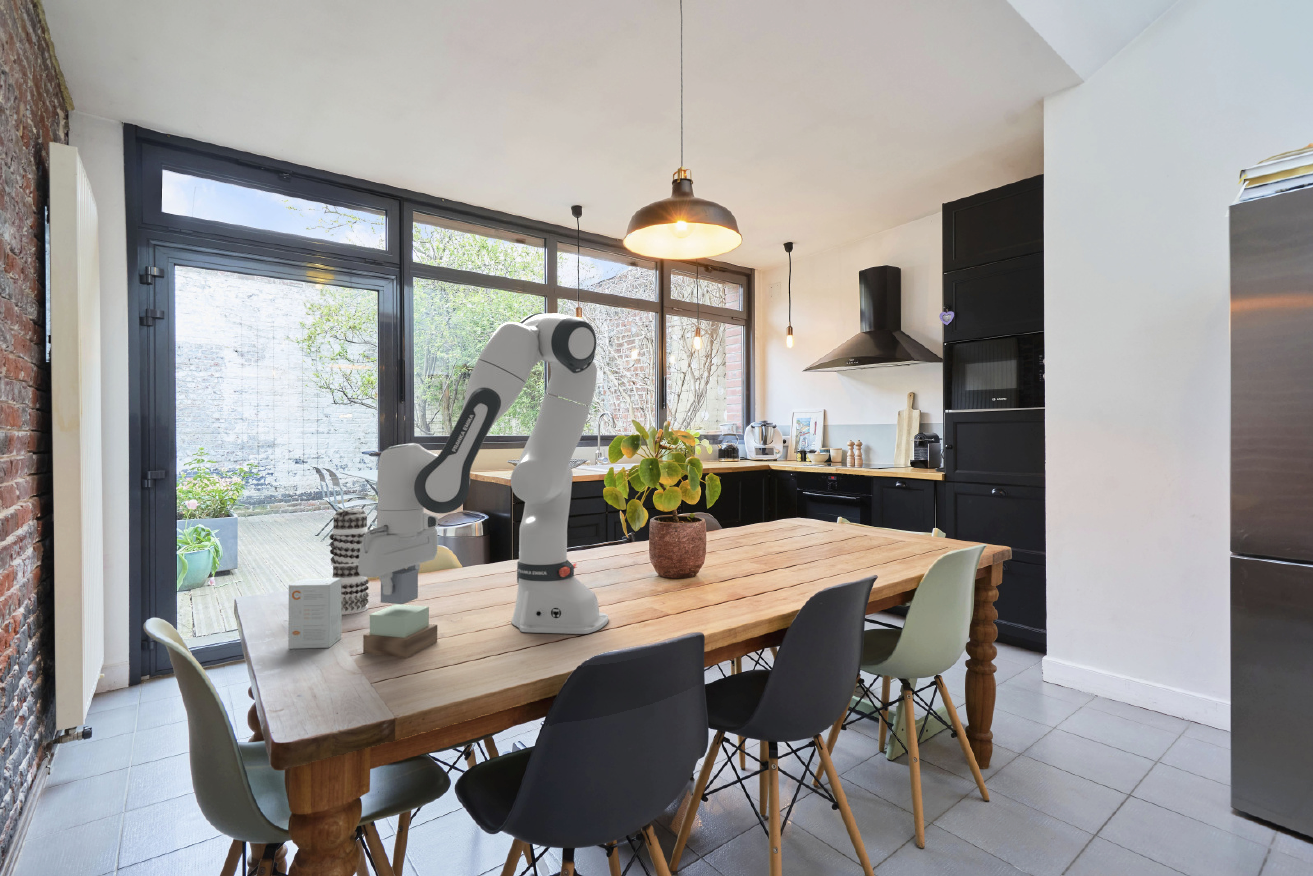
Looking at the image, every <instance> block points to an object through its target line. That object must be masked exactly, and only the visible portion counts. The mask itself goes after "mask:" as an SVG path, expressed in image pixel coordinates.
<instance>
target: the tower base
mask: <svg viewBox="0 0 1313 876" xmlns="http://www.w3.org/2000/svg"><path fill="white" fill-rule="evenodd" d="M362 637H363V639H362V640H363V641H362V644H363V645H362V647H363V648H362V650H363V651H362V653H363V654H367V655H368V654H369V655H378V656H385V657H386V656H387V657H394V658H405V659H407V658H409V657H411V656H413V655H416V654H417V653H419V652H420V651H424V649H426V648H429V647H430V646H433V645H434V644H436V643H438V624H435V623H429V626H427V627H425V628H423V629H421V630H419V631H417V632H415V633H413V634H411V635H409V636H407V637H405V638H401V637H391V636H380V635H370V631H369V632H367V633H364V634H363V636H362Z"/></svg>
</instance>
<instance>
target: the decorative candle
mask: <svg viewBox="0 0 1313 876" xmlns="http://www.w3.org/2000/svg"><path fill="white" fill-rule="evenodd" d="M364 510H365V509H363V508H360V507H357V508H353V507H352V508H351V507H350V508H341V509H338V510H337V511H336V512H335V514H334V515H332V516H331V517H332V518H333V528H332V532H331V534H330V535H329V536H328V537H329V540H330V541H331V542H330V544H329V547H330V548H331V549H329V552H330V554H331V555H332V556H331V558H330V565H331V566H332V576H331V578H341V613H342V615H343V616H344V615H352V614H353V615H354V614H357V613H362V612H365V611H367V610H368V609H369V605H368V604H369V601H370V600H369V599H368V598H369V596H370V594H369V592H367V591H368V590H369V586H368V584H369V582H370V581H369V579H368V577H362V576H361V575H360V574H359V572H358V564H359V554H360V548H361V544H362V541H363V536H364V535H365V534H366V533H367V532H368V530H369V529H368V516H369V514H367V513H366V512H365V511H364Z"/></svg>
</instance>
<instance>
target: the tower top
mask: <svg viewBox="0 0 1313 876" xmlns="http://www.w3.org/2000/svg"><path fill="white" fill-rule="evenodd" d="M429 624H430V607H429V606H424V605H411V604H392V605H389V606H387V607H385V608H382V609H380V610H378V611H375V612H372V613H370V614H369V632H370V635H380V636H391V637H401V638H405V637H407V636H409V635H411V634H413V633H415V632H417V631H419V630H421V629H423V628H425V627H427V626H429Z"/></svg>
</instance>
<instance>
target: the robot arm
mask: <svg viewBox="0 0 1313 876" xmlns="http://www.w3.org/2000/svg"><path fill="white" fill-rule="evenodd" d="M596 350H597V335H596V331H595V329H594V328H593V326H592V325H591V324H590V323H589V322H587V321H586V320H584V319H582V318H580V317H577V316H571V315H568V314H567V315H566V314H562V313H555V312H554V313H545V312H536V313H531V314H529V315H527V316H525V317H523V318H522V319H521V320H520V321H519V322H516V321H508V322H504V323H503V324H500V326H499V327H498V328H497V329H496V331H494V333H493V334H492V335H491V337H490V338H489V339H488V341H487V343H486V344H485V346H484V347H483V349H482V351H481V353H480V355H479V356H478V358H477V360H476V362H475V364H474V365H473V368H472V370H471V373H470V376H469V379H468V382H467V386H466V390H465V395H464V399H463V406H462V409H461V412H460V415H459V418H458V419H457V421H456V423H455V425H454V427H453V429H452V430H451V433H450V435H449V436H448V438H447V440H446V442H445V444H444V446H443V448H442V449H441V451H440V452H439V454H436V453H434V452H432V451H430V450H428V449H426V448H425V447H423V446H422V445H421V444H419V443H416V442H410V443H405V444H404V443H402V444H397V445H393V446H389V447H387V448H385V449H384V450H383V451H382V452H381V454H380V455H379V459H378V460H379V461H378V467H377V477H376V478H377V481H376V483H377V486H376V488H377V491H378V497H379V498H378V503H377V507H376V527H371V528H369V529H368V530H367V533H366V534H365V535H364V536H363V541H362V544H361V548H360V554H359V564H358V572H359V574H360V575H361V576H362V577H367V578H377V577H378V579H379V582H380V584H381V583H382V585H383V594H384V595H390V594H393V593H395V585H394V584H392V581H391V579H390V578H391V577H392V572H394V571H397V570H401V569H404V568H407V569H418V573H419V571H420V569H421V564H423V563H426V562H430V561H433V560H435V559H436V556H437V555H438V547H439V546H438V544H439V543H438V541H439V540H438V538H439V537H438V535H439V534H438V531H437V527H438V526H439V517H437V516H436V515H432V514H429V513H426V512H425V511H424V510H427V511H429V512H431V513H435V514H448V513H449V514H450V513H451V512H454V511H456V510H458V509H460V507H462V505H463V504H465V502H466V500H467V499H468V496H469V492H470V486H471V469H472V466H473V464H474V462H475V460H476V458H477V455H478V453H479V452H480V449H481V447H482V446H483V444H484V442H485V439H486V437H487V436H488V434H489V432H490V430H491V428H492V427H493V426H494V425H495V423H496V422H497V421H498V420H499V419H500V418H502V416H503V415H505V413H507V412H508V411H509V410H510V408H512V406H513V405H514V403H515V402H516V400H517V399H518V398H519V396H520V394H521V393H522V390H523V389H524V387H525V385H526V384H527V382H528V379H529V376H530V374H531V372H532V370H533V368H534V367H535V366H536V365H537V364H538V363H539V362H541V361H543V362H544V363H549V367H550V377H549V381H548V383H547V386H546V389H545V392H544V395H543V398H542V402H541V405H540V409H539V410H538V414H537V418H536V422H535V425H534V426H533V429H532V431H531V433H530V435H529V438H527V441H526V443H525V446H524V448H523V450H522V452H521V455H520V456H519V460H518V462H517V464H516V466H515V467H514V469H513V471H512V472H511V474H510V487H511V490H512V492H513V493H514V495H515V496H516V498H518V499H520V500H521V501H523V502H524V507H523V514H522V519H521V522H520V524H519V539H518V541H519V545H518V547H519V548H518V550H519V551H518V559H519V560H518V561H517V562H516V563H517V564H516V565H517V566H516V568H517V569H516V582H517V595H516V602H515V607H514V612H513V615H512V618H511V620H510V621H511V624H512V625H514V626H515V627H517V628H518V629H519V631H520V632H522V633H536V634H537V633H539V634H540V633H541V634H569V635H570V634H573V635H574V634H575V635H586V634H591V633H593V632H594V633H595V632H597V631H598V630H600V629H602V628H604V626H606V625H607V623H608V622H609V615H608V613H605V612H600V607H599V601H598V597H597V595H596V593H595V592H594V591H592V590H591V589H590V588H589V587H588V586H586V585H585V584H584V583H582V581H580V580H579V579H578V578H577V577H575V576H574V575H575V569H576V568H577V562H576V563H573V564H572V562H570V561H569V560H568V559H567V558H568V555H567V554H568V521H569V515H570V508H571V507H570V505H571V500H572V499H571V497H572V488H573V487H572V486H573V485H572V483H573V477H574V475H573V474H574V473H573V469H572V467H571V465H570V462H571V460H572V457H573V455H574V452H575V450H576V448H577V446H578V444H579V443H580V440H581V439H582V435H583V432H584V429H585V425H586V423H587V419H588V415H589V412H590V410H591V405H592V402H593V398H594V394H595V389H596V385H597V375H598V368H597V365H596V364H595V362H594V360H595V354H596Z"/></svg>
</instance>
